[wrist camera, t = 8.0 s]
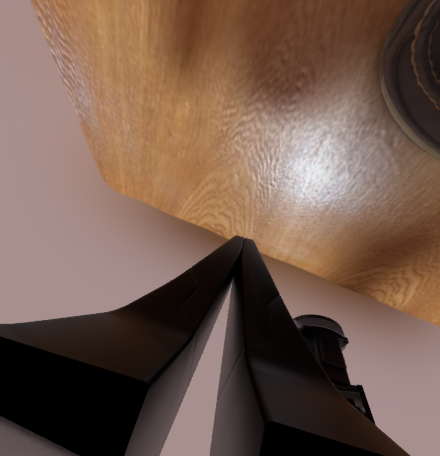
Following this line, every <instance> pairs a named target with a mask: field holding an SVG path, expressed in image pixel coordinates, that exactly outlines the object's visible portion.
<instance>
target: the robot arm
mask: <svg viewBox="0 0 440 456" xmlns="http://www.w3.org/2000/svg"><path fill="white" fill-rule="evenodd" d="M233 277H234V278H233ZM232 281H233V282H232ZM231 284H232V288H231V296H230V304H229V311H228V319H227V327H226V334H225V342H224V350H223V357H222V365H221V374H220V380H219V388H218V396H217V403H216V411H215V419H214V426H213V434H212V442H211V450H210V456H410V455H409V454H408V453H407V452H405V451H404V450H403V449H402V448H401V447H399V446H398V445H397V444H396V443H395V442H394V441H393V440H392V439H390V438H389V437H388V436H387V435H386V434H385V433H384V432H382V431H381V430H380V429H379V428H378V427H377V426H376V425H375V422H374V419H373V416H372V413H371V410H370V408H369V405H368V402H367V399H366V396H365V393H364V390H363V387H362V385H357V386H354V385H351V384H350V381H349V377H348V374H347V370H346V369H347V367H346V364H345V360H344V357H343V353H342V350H341V349H342V348H343V347H344V346H345V345H347V344H348V343H349V341H348V339H347V338H346V337H343V336H340V335H337V334H333V333H330V332H327V331H324V330H321V329H317V328H314V327H311V326H308V325H303V326H302V327H301V328H300V329H298V327H297V326H296V324H295V322H294V321H293V319H292V317H291V315H290V314H289V312H288V310H287V308H286V306H285V304H284V302H283V300H282V298H281V296H279V295H280V294H279V292H278V290H277V288H276V286H275V284H274V281H273V279H272V277H271V275H270V273H269V271H268V269H267V267H266V265H265V263H264V261H263V259H262V257H261V255H260V253H259V251H258V249H257V247H256V245H255V242H254V241H253V240H251V239H247V238H245V239H244V237H240V236H237V235H236V236H234V237H233V238H232V239H230V240H229V241H227V242H226V243H225V244H223V245H222V246H220V247H219V248H218V249H216V250H215V251H213V252H212V253H211V254H209V255H208V256H207V257H205V258H204V259H202V260H201V261H199V262H198V263H197V264H195V265H194V266H192V268H190V269H188V270H187V271H185V272H184V273H183V274H181V275H179V276H178V277H176V278H175V279H173V280H171V281H170V282H168V283H166V284H165V285H163V286H161V287H159V288H158V289H156V290H154V291H152V292H150V293H148V294H147V295H145V296H143V297H141V298H139V299H138V300H136V301H134V302H132V303H130V304H129V305H126V306H124V307H122V308H119V309H116V310H113V311H109V312H105V313H97V314H89V315H81V316H74V317H66V318H58V319H50V320H42V321H34V322H26V323H16V324H0V456H159V455H160V453H161V450H162V448H163V445H164V443H165V441H166V439H167V436H168V434H169V431H170V429H171V427H172V424H173V422H174V420H175V417H176V415H177V412H178V410H179V407H180V405H181V403H182V400H183V398H184V396H185V393H186V391H187V388H188V386H189V384H190V381H191V379H192V377H193V374H194V372H195V370H196V367H197V365H198V362H199V360H200V358H201V355H202V353H203V351H204V348H205V346H206V343H207V341H208V339H209V336H210V333H211V332H212V329H213V327H214V324H215V322H216V320H217V317H218V315H219V312H220V310H221V308H222V305H223V303H224V301H225V298H226V296H227V294H228V291H229V289H230V286H231ZM361 408H362V409H363V410H362V409H361Z"/></svg>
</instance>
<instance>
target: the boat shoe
mask: <svg viewBox="0 0 440 456" xmlns="http://www.w3.org/2000/svg"><path fill="white" fill-rule="evenodd" d="M378 74H379V83H380V87H381V91H382V94H383V98H384V101H385V103H386V105H387V109H388V111H389V112H390V114H391V116H392V117H393V119H394V120H395V122H396V123H397V124H398V126H399V127H400V128H401V129H402V131H403V132H404V133H405V134H406V135H407V136H408V137H409V138H410V139H411V140H412V141H413V142H414V143H415V144H416V145H417V146H419V147H420V148H421V149H422V150H423V151H425V152H427V153H428V154H430V155H432V156H433V157H435V158H437V159H439V160H440V0H410V1H409V2H408V4H407V5H406V6H405V8H404V9H403V11H402V12H401V14H400V15H399V17H398V18H397V20H396V21H395V23H394V25H393V26H392V28H391V30H390V31H389V33H388V35H387V37H386V40H385V42H384V44H383V48H382V51H381V54H380V60H379V70H378Z"/></svg>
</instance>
